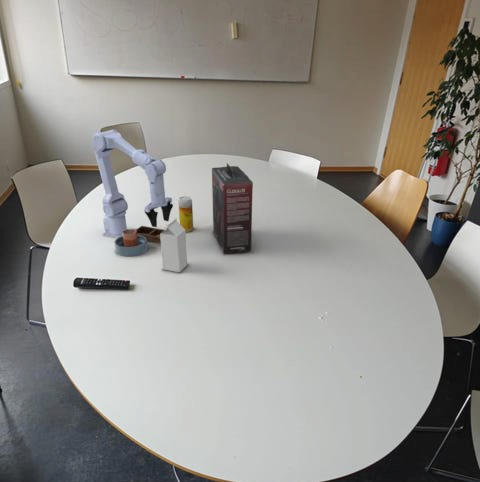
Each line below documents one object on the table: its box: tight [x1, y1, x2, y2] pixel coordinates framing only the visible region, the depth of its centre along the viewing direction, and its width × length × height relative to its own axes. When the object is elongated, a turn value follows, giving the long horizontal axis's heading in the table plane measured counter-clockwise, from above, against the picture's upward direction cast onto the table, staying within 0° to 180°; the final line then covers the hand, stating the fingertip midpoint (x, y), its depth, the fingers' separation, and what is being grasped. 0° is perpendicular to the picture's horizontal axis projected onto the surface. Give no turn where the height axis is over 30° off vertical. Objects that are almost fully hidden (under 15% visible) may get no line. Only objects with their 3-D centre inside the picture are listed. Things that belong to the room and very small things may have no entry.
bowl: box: [114, 235, 149, 258], centre depth 180 cm, size 13×13×4 cm
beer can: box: [178, 196, 194, 233], centre depth 197 cm, size 6×6×15 cm
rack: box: [135, 225, 165, 245], centre depth 191 cm, size 16×8×4 cm, turn 69°
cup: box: [122, 228, 138, 247], centre depth 179 cm, size 6×6×8 cm
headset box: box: [211, 163, 254, 254], centre depth 182 cm, size 25×12×33 cm, turn 14°
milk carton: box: [160, 218, 188, 273], centre depth 165 cm, size 7×7×19 cm
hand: (160, 223), depth 181 cm, fingers open, 7 cm apart
